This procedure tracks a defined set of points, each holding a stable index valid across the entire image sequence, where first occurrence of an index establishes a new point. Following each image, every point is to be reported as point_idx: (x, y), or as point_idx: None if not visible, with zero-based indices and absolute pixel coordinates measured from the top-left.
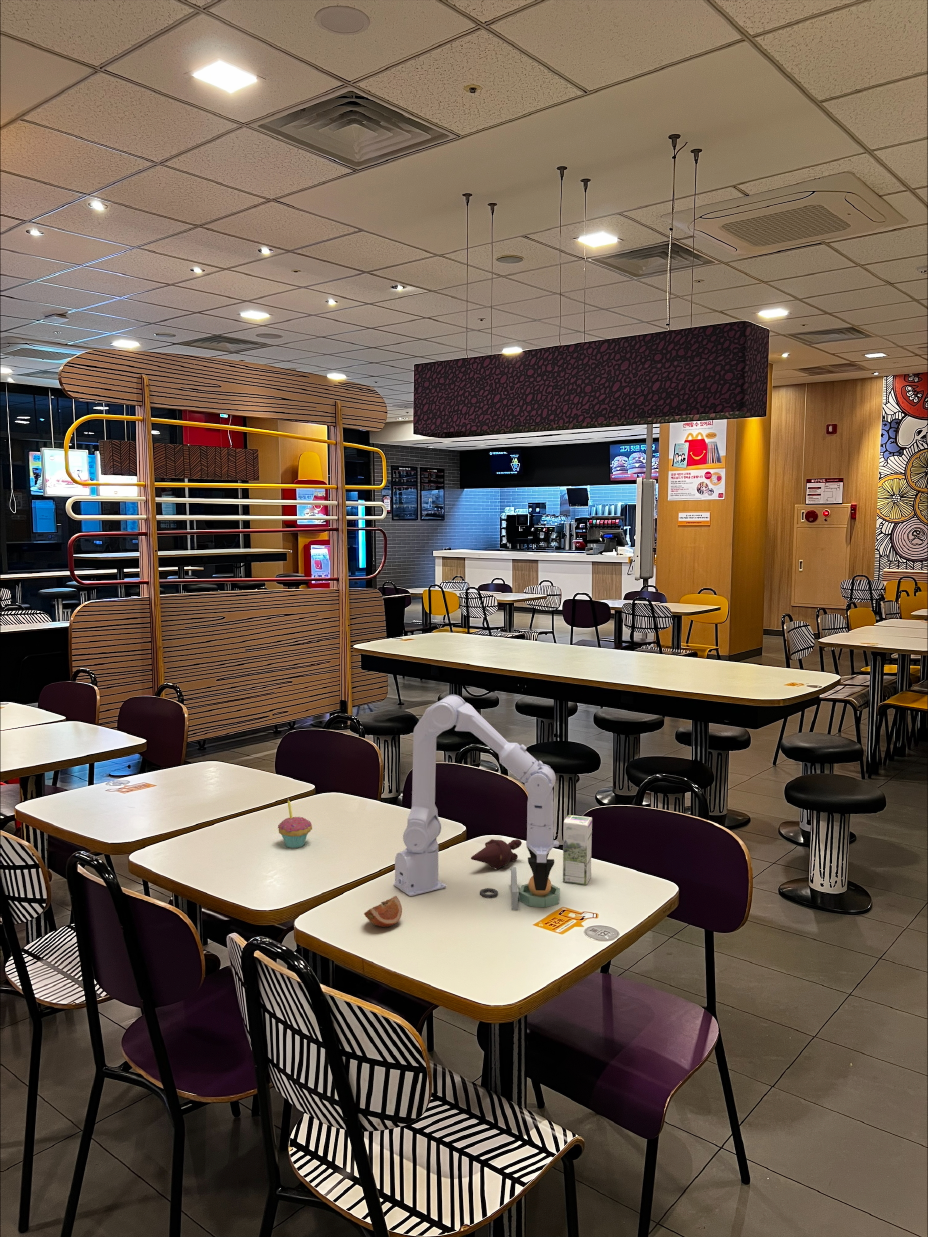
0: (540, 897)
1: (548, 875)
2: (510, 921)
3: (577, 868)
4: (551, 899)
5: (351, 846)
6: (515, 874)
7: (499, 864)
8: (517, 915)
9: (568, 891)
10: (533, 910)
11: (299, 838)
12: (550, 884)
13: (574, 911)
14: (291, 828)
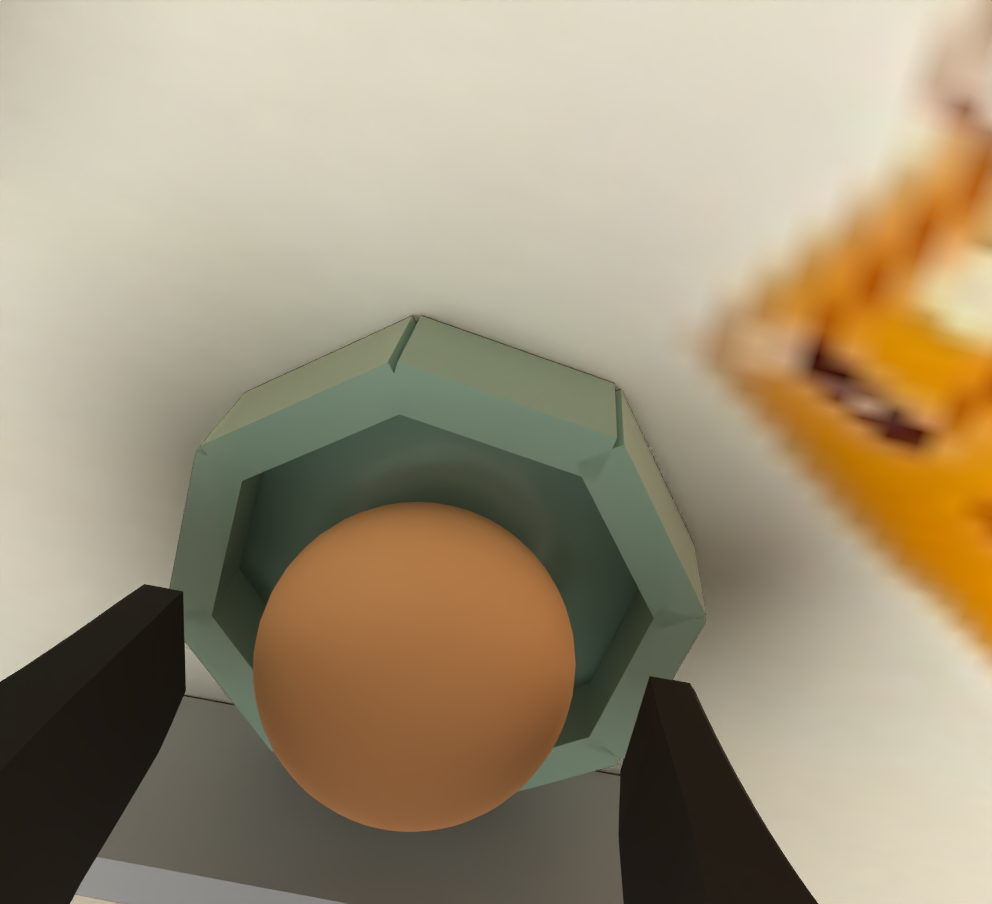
0: (662, 661)
1: (807, 889)
2: (921, 880)
3: None
4: (667, 520)
5: None
6: (171, 880)
7: None
8: (810, 810)
9: (205, 143)
10: (731, 666)
11: None
12: (486, 576)
13: (897, 234)
14: None
